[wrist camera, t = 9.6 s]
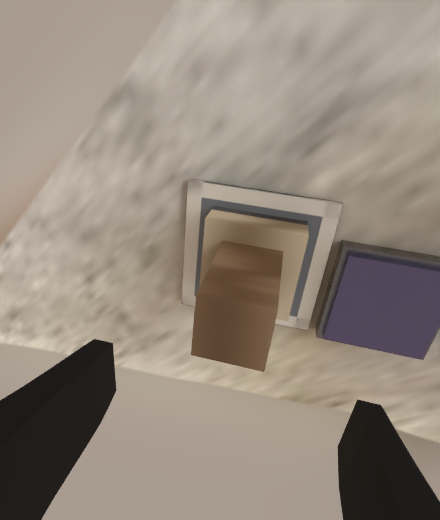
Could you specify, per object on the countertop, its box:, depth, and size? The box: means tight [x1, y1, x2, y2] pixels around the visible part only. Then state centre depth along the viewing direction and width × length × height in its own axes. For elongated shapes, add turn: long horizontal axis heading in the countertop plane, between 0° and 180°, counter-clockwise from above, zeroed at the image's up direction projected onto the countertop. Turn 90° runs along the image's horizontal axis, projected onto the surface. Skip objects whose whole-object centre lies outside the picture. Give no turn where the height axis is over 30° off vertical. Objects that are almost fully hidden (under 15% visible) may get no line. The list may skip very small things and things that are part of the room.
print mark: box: [181, 179, 343, 330], centre depth 19 cm, size 8×8×1 cm
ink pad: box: [316, 240, 440, 360], centre depth 18 cm, size 6×6×1 cm
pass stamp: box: [191, 206, 309, 372], centre depth 16 cm, size 5×5×7 cm
